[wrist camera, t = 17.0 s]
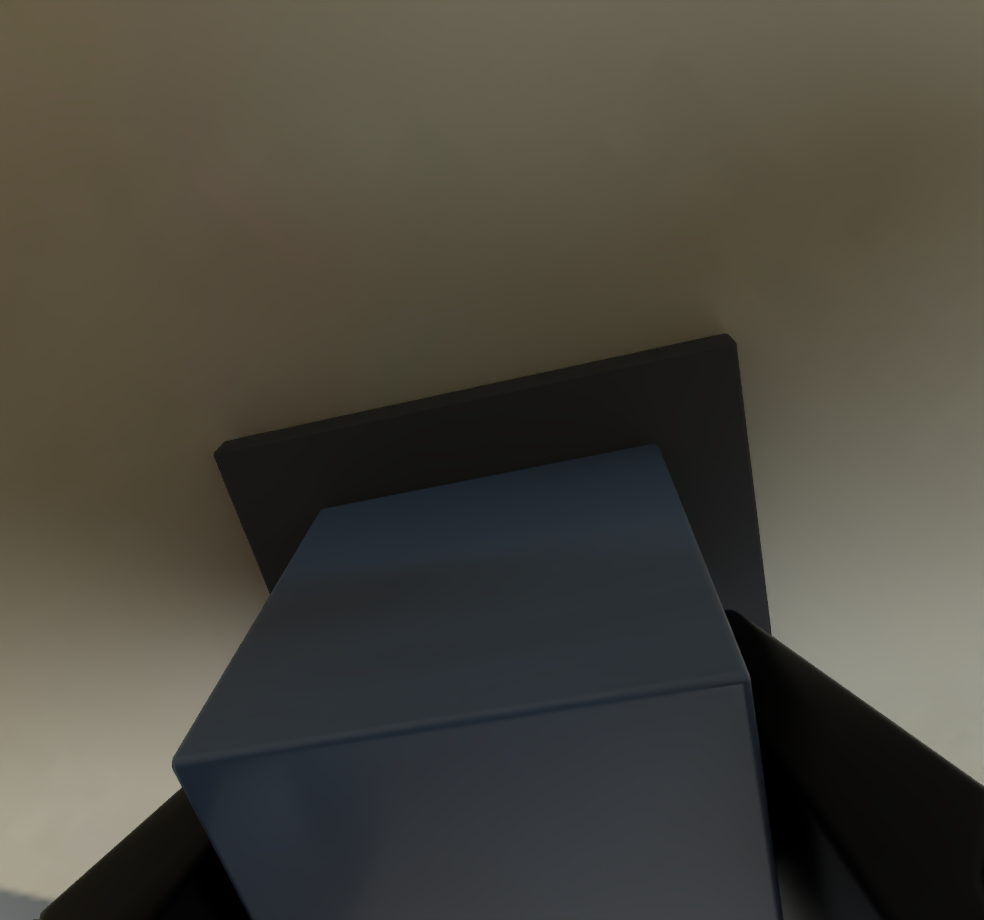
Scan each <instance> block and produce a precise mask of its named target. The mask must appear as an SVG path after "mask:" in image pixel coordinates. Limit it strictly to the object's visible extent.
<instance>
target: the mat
mask: <svg viewBox="0 0 984 920" xmlns="http://www.w3.org/2000/svg"><path fill="white" fill-rule="evenodd" d="M648 444H657V445H658V446H659V448H660V450H661V453H662V455H663V458H664V460H665V463H666V465H667V468H668V470H669V473H670V476H671V478H672V481H673V483H674V486H675V488H676V491H677V493H678V496H679V498H680V501H681V503H682V506H683V508H684V511H685V513H686V516H687V518H688V521H689V523H690V526H691V528H692V531H693V534H694V536H695V539H696V541H697V544H698V546H699V549H700V551H701V554H702V556H703V559H704V561H705V564H706V566H707V569H708V571H709V574H710V576H711V579H712V581H713V584H714V586H715V589H716V591H717V594H718V597H719V599H720V602H721V604H722V607H723V609H724V610H728V609H732V610H735V611H737V612H739V613H740V614H741V615H743V616H744V617H746V618H747V619H749V620H750V621H751V622H753V623H754V624H756V625H757V626H758V627H760V628H761V629H763V630H764V631H765V632H767V633H768V634H770V635H771V636H772V634H771V626H770V617H769V609H768V601H767V593H766V584H765V576H764V568H763V560H762V551H761V543H760V535H759V526H758V518H757V510H756V502H755V493H754V485H753V477H752V469H751V460H750V452H749V444H748V435H747V427H746V419H745V411H744V402H743V394H742V386H741V378H740V369H739V361H738V353H737V344H736V342H735V341H734V340H733V339H732V338H731V337H730V336H729V335H728V334H721V335H717V336H712V337H707V338H703V339H698V340H693V341H689V342H684V343H679V344H675V345H670V346H665V347H661V348H656V349H652V350H647V351H642V352H638V353H633V354H628V355H624V356H619V357H614V358H610V359H605V360H601V361H596V362H591V363H587V364H582V365H577V366H573V367H568V368H563V369H559V370H554V371H549V372H545V373H540V374H536V375H531V376H526V377H522V378H517V379H512V380H508V381H503V382H498V383H494V384H489V385H485V386H480V387H475V388H471V389H466V390H461V391H457V392H452V393H447V394H443V395H438V396H433V397H429V398H424V399H420V400H415V401H410V402H406V403H401V404H396V405H392V406H387V407H382V408H378V409H373V410H369V411H364V412H359V413H355V414H350V415H345V416H341V417H336V418H331V419H327V420H322V421H318V422H313V423H308V424H304V425H299V426H294V427H290V428H285V429H280V430H276V431H271V432H266V433H262V434H257V435H253V436H248V437H243V438H239V439H234V440H229V441H226V442H224V443H223V444H222V445H221V446H220V447H219V448H218V449H217V450H216V451H215V452H214V458H215V461H216V463H217V466H218V468H219V471H220V473H221V475H222V478H223V480H224V483H225V485H226V488H227V490H228V493H229V495H230V497H231V500H232V502H233V505H234V507H235V510H236V512H237V515H238V517H239V519H240V522H241V524H242V527H243V529H244V532H245V534H246V537H247V539H248V541H249V544H250V546H251V549H252V551H253V554H254V556H255V559H256V561H257V563H258V566H259V568H260V571H261V573H262V576H263V578H264V580H265V583H266V585H267V588H268V590H269V593H270V594H271V592H272V591H273V589H274V587H275V586H276V584H277V582H278V581H279V579H280V577H281V576H282V574H283V572H284V571H285V569H286V567H287V566H288V564H289V562H290V561H291V559H292V557H293V555H294V554H295V552H296V550H297V549H298V547H299V545H300V544H301V542H302V540H303V539H304V537H305V535H306V534H307V532H308V530H309V529H310V527H311V525H312V524H313V522H314V520H315V519H316V517H317V515H318V514H319V512H320V511H321V510H322V509H325V508H330V507H335V506H340V505H345V504H350V503H355V502H360V501H365V500H370V499H375V498H380V497H385V496H390V495H395V494H400V493H405V492H411V491H416V490H421V489H426V488H431V487H436V486H441V485H446V484H451V483H456V482H461V481H466V480H471V479H476V478H481V477H486V476H491V475H497V474H502V473H507V472H512V471H517V470H522V469H527V468H532V467H537V466H542V465H547V464H552V463H557V462H562V461H567V460H572V459H578V458H583V457H588V456H593V455H598V454H603V453H608V452H613V451H618V450H623V449H628V448H633V447H638V446H643V445H648Z"/></svg>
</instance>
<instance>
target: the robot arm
mask: <svg viewBox="0 0 984 920" xmlns="http://www.w3.org/2000/svg"><path fill="white" fill-rule="evenodd" d="M724 612H725V614H726V617H727V619H728V622H729V624H730V627H731V629H732V632H733V634H734V637H735V639H736V642H737V644H738V647H739V649H740V652H741V654H742V657H743V660H744V662H745V665H746V667H747V670H748V672H749V675H750V678H751V686H752V693H753V700H754V708H755V715H756V722H757V730H758V737H759V744H760V751H761V759H762V766H763V773H764V781H765V788H766V795H767V803H768V810H769V817H770V825H771V832H772V839H773V846H774V854H775V861H776V868H777V876H778V883H779V890H780V898H781V905H782V912H783V919H784V920H984V786H983V785H981V784H980V783H978V782H977V781H976V780H974V779H973V778H971V777H970V776H969V775H967V774H966V773H964V772H963V771H962V770H960V769H959V768H957V767H956V766H954V765H953V764H952V763H950V762H949V761H947V760H946V759H945V758H943V757H942V756H940V755H939V754H938V753H936V752H935V751H933V750H932V749H930V748H929V747H928V746H926V745H925V744H923V743H922V742H921V741H919V740H918V739H916V738H915V737H914V736H912V735H911V734H909V733H908V732H907V731H905V730H904V729H902V728H901V727H899V726H898V725H897V724H895V723H894V722H892V721H891V720H890V719H888V718H887V717H885V716H884V715H883V714H881V713H880V712H878V711H877V710H875V709H874V708H873V707H871V706H870V705H868V704H867V703H866V702H864V701H863V700H861V699H860V698H859V697H857V696H856V695H854V694H853V693H851V692H850V691H849V690H847V689H846V688H844V687H843V686H842V685H840V684H839V683H837V682H836V681H835V680H833V679H832V678H830V677H829V676H828V675H826V674H825V673H823V672H822V671H820V670H819V669H818V668H816V667H815V666H813V665H812V664H811V663H809V662H808V661H806V660H805V659H804V658H802V657H801V656H799V655H798V654H796V653H795V652H794V651H792V650H791V649H789V648H788V647H787V646H785V645H784V644H782V643H781V642H780V641H778V640H777V639H775V638H774V637H772V636H771V635H770V634H768V633H767V632H765V631H764V630H763V629H761V628H760V627H758V626H757V625H756V624H754V623H753V622H751V621H750V620H749V619H747V618H746V617H744V616H743V615H741V614H740V613H739V612H737V611H735V610H732V609H728V610H724ZM34 920H251V919H250V917H249V915H248V913H247V911H246V909H245V908H244V906H243V904H242V902H241V900H240V898H239V896H238V894H237V892H236V890H235V888H234V886H233V884H232V882H231V880H230V879H229V877H228V875H227V873H226V871H225V869H224V867H223V865H222V863H221V861H220V859H219V857H218V855H217V853H216V852H215V850H214V848H213V846H212V844H211V842H210V840H209V838H208V836H207V834H206V832H205V830H204V828H203V826H202V825H201V823H200V821H199V819H198V817H197V815H196V813H195V811H194V809H193V807H192V805H191V803H190V801H189V799H188V798H187V796H186V794H185V792H184V790H183V788H181V789H180V790H178V791H177V792H176V793H175V794H174V795H173V796H172V797H171V798H169V799H168V800H167V801H166V802H165V803H164V804H163V805H162V806H160V807H159V808H158V809H157V810H156V811H155V812H154V813H153V814H151V815H150V816H149V817H148V818H147V819H146V820H145V821H144V822H142V823H141V824H140V825H139V826H138V827H137V828H136V829H135V830H133V831H132V832H131V833H130V834H129V835H128V836H127V837H125V838H124V839H123V840H122V841H121V842H120V843H119V844H118V845H116V846H115V847H114V848H113V849H112V850H111V851H110V852H109V853H107V854H106V855H105V856H104V857H103V858H102V859H101V860H100V861H98V862H97V863H96V864H95V865H94V866H93V867H92V868H91V869H89V870H88V871H87V872H86V873H85V874H84V875H83V876H82V877H80V878H79V879H78V880H77V881H76V882H75V883H74V884H72V885H71V886H70V887H69V888H68V889H67V890H66V891H65V892H63V893H62V894H61V895H60V896H59V897H58V898H57V899H56V900H54V901H53V902H52V903H51V904H50V905H49V906H48V907H47V908H45V909H44V910H43V911H42V912H41V915H40V919H34Z"/></svg>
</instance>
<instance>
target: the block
mask: <svg viewBox="0 0 984 920" xmlns="http://www.w3.org/2000/svg"><path fill="white" fill-rule="evenodd" d="M172 769H173V770H174V772H175V774H176V776H177V778H178V780H179V782H180V784H181V786H182V788H183V790H184V792H185V794H186V796H187V798H188V799H189V801H190V803H191V805H192V807H193V809H194V811H195V813H196V815H197V817H198V819H199V821H200V823H201V825H202V826H203V828H204V830H205V832H206V834H207V836H208V838H209V840H210V842H211V844H212V846H213V848H214V850H215V852H216V853H217V855H218V857H219V859H220V861H221V863H222V865H223V867H224V869H225V871H226V873H227V875H228V877H229V879H230V880H231V882H232V884H233V886H234V888H235V890H236V892H237V894H238V896H239V898H240V900H241V902H242V904H243V906H244V908H245V909H246V911H247V913H248V915H249V917H250V919H251V920H784V919H783V912H782V905H781V898H780V890H779V883H778V876H777V868H776V861H775V854H774V846H773V839H772V832H771V825H770V817H769V810H768V803H767V795H766V788H765V781H764V773H763V766H762V759H761V751H760V744H759V737H758V730H757V722H756V715H755V708H754V700H753V693H752V686H751V678H750V675H749V672H748V670H747V667H746V665H745V662H744V660H743V657H742V654H741V652H740V649H739V647H738V644H737V642H736V639H735V637H734V634H733V632H732V629H731V627H730V624H729V622H728V619H727V617H726V614H725V612H724V609H723V607H722V604H721V602H720V599H719V597H718V594H717V591H716V589H715V586H714V584H713V581H712V579H711V576H710V574H709V571H708V569H707V566H706V564H705V561H704V559H703V556H702V554H701V551H700V549H699V546H698V544H697V541H696V539H695V536H694V534H693V531H692V528H691V526H690V523H689V521H688V518H687V516H686V513H685V511H684V508H683V506H682V503H681V501H680V498H679V496H678V493H677V491H676V488H675V486H674V483H673V481H672V478H671V476H670V473H669V470H668V468H667V465H666V463H665V460H664V458H663V455H662V453H661V450H660V448H659V446H658V445H657V444H648V445H643V446H638V447H633V448H628V449H623V450H618V451H613V452H608V453H603V454H598V455H593V456H588V457H583V458H578V459H572V460H567V461H562V462H557V463H552V464H547V465H542V466H537V467H532V468H527V469H522V470H517V471H512V472H507V473H502V474H497V475H491V476H486V477H481V478H476V479H471V480H466V481H461V482H456V483H451V484H446V485H441V486H436V487H431V488H426V489H421V490H416V491H411V492H405V493H400V494H395V495H390V496H385V497H380V498H375V499H370V500H365V501H360V502H355V503H350V504H345V505H340V506H335V507H330V508H325V509H322V510H321V511H320V512H319V514H318V515H317V517H316V519H315V520H314V522H313V524H312V525H311V527H310V529H309V530H308V532H307V534H306V535H305V537H304V539H303V540H302V542H301V544H300V545H299V547H298V549H297V550H296V552H295V554H294V555H293V557H292V559H291V561H290V562H289V564H288V566H287V567H286V569H285V571H284V572H283V574H282V576H281V577H280V579H279V581H278V582H277V584H276V586H275V587H274V589H273V591H272V592H271V594H270V596H269V597H268V599H267V601H266V602H265V604H264V606H263V607H262V609H261V611H260V613H259V614H258V616H257V618H256V619H255V621H254V623H253V624H252V626H251V628H250V629H249V631H248V633H247V634H246V636H245V638H244V639H243V641H242V643H241V644H240V646H239V648H238V649H237V651H236V653H235V654H234V656H233V658H232V659H231V661H230V663H229V665H228V666H227V668H226V670H225V671H224V673H223V675H222V676H221V678H220V680H219V681H218V683H217V685H216V686H215V688H214V690H213V691H212V693H211V695H210V696H209V698H208V700H207V701H206V703H205V705H204V706H203V708H202V710H201V711H200V713H199V715H198V717H197V718H196V720H195V722H194V723H193V725H192V727H191V728H190V730H189V732H188V733H187V735H186V737H185V738H184V740H183V742H182V743H181V745H180V747H179V748H178V750H177V752H176V753H175V755H174V757H173V760H172Z"/></svg>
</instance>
